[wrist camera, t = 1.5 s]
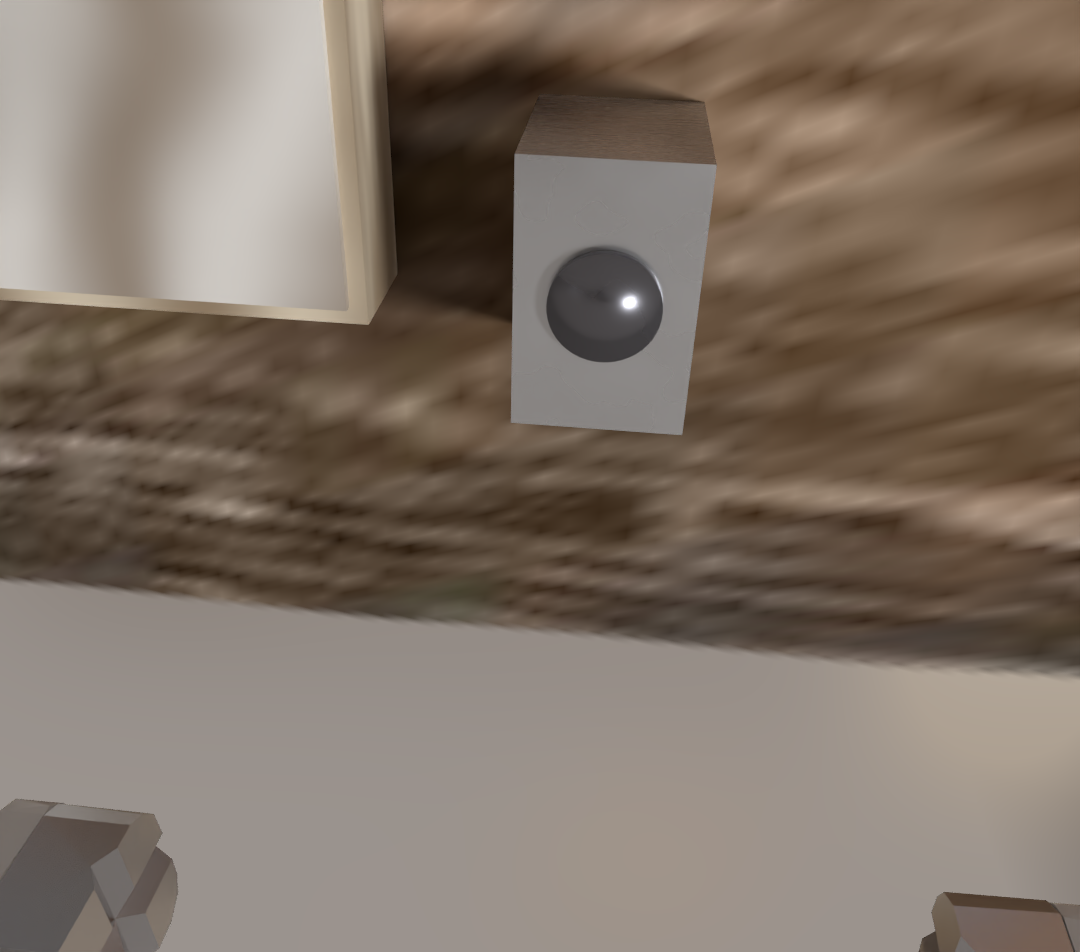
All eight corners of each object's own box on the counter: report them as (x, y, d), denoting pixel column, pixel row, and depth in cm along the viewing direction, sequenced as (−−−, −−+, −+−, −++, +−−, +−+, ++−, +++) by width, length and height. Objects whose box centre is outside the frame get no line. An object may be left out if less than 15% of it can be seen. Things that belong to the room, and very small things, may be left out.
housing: (533, 326, 31) (509, 428, 25) (540, 93, 27) (512, 157, 22) (676, 335, 30) (682, 441, 25) (704, 101, 26) (717, 169, 21)
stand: (54, 252, 31) (-19, 303, 27) (-67, -214, 24) (-183, -221, 21) (397, 274, 30) (365, 329, 27) (370, -200, 23) (324, -204, 20)
